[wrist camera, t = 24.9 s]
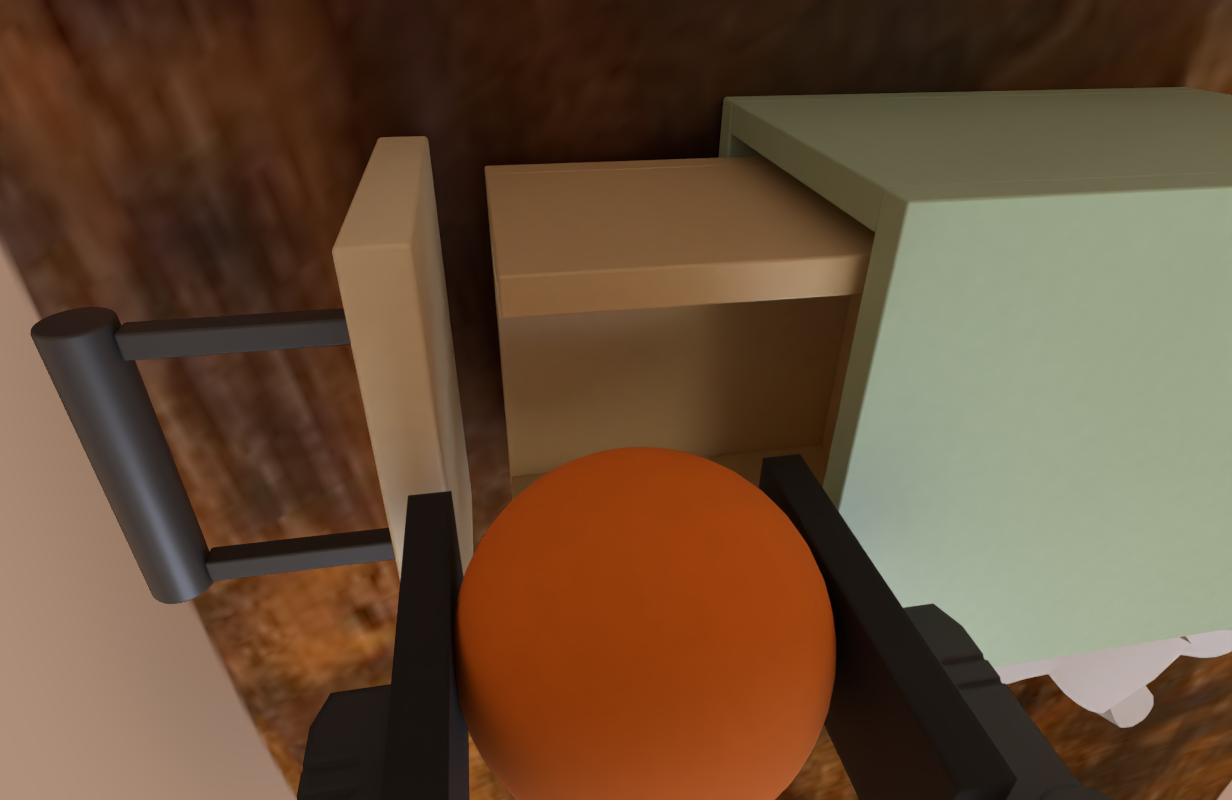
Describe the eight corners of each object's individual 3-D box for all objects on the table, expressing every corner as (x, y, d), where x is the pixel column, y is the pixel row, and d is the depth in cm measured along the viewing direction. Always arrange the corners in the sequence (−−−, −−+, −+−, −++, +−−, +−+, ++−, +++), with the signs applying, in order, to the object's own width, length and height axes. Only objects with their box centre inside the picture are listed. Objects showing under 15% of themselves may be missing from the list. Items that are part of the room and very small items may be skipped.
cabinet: (691, 469, 26) (794, 700, 18) (722, 96, 19) (908, 201, 11) (1049, 431, 28) (1282, 621, 20) (1187, 86, 22) (1611, 167, 14)
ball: (435, 393, 12) (416, 715, 7) (776, 366, 13) (972, 632, 8) (469, 633, 15) (472, 969, 10) (741, 597, 16) (863, 889, 11)
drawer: (232, 522, 23) (140, 754, 16) (96, 144, 17) (-137, 272, 10) (822, 458, 26) (945, 631, 19) (889, 122, 20) (1102, 208, 13)
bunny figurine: (1089, 514, 25) (1320, 653, 30) (1007, 437, 30) (1219, 569, 34) (905, 683, 29) (1139, 783, 33) (857, 591, 33) (1068, 692, 38)
